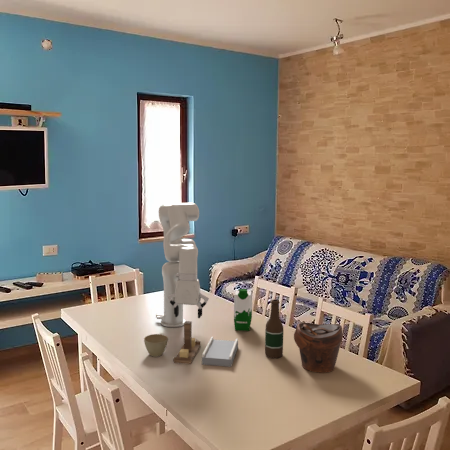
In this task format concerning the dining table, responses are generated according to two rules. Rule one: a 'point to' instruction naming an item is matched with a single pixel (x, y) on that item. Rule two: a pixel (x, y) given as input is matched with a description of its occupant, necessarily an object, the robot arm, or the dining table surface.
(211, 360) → the tray
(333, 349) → the brown lidded bucket
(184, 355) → the crate
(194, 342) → the block
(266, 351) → the beer bottle
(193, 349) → the brown base with upright
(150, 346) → the flower pot
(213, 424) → the dining table surface
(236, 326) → the milk carton
